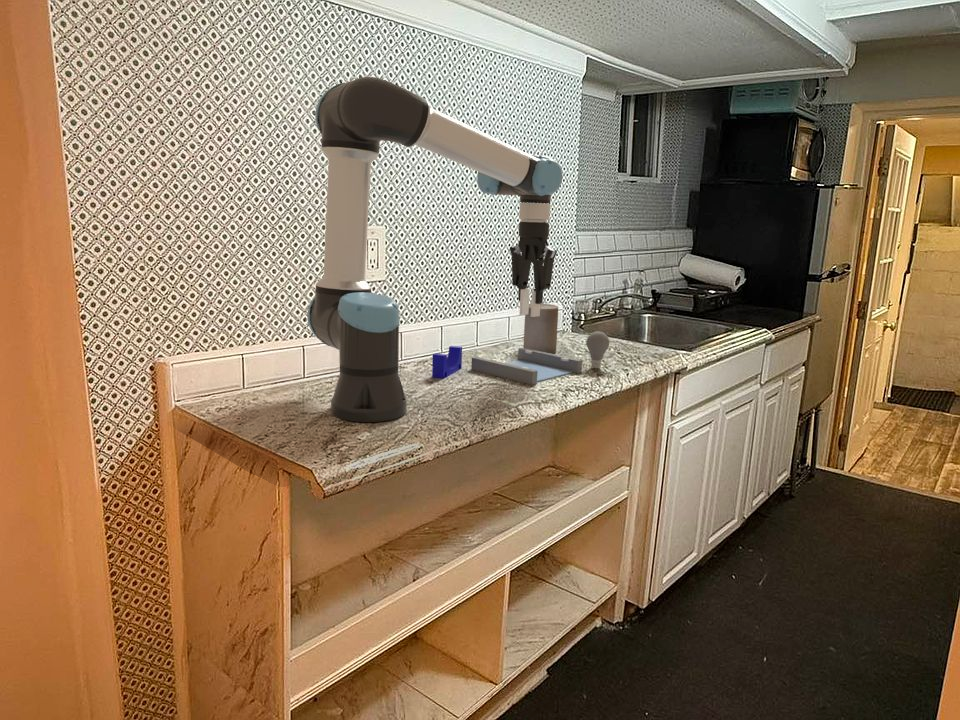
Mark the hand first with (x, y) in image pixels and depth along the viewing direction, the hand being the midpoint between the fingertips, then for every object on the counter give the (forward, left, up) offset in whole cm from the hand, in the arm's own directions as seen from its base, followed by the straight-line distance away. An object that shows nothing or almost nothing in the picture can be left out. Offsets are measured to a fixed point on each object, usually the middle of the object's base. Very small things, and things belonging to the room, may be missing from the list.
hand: (529, 315), depth 173 cm
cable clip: (-18, +12, -15) cm, 26 cm away
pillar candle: (+22, +13, -15) cm, 30 cm away
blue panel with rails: (0, 0, -15) cm, 15 cm away
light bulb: (+17, -10, -15) cm, 25 cm away
